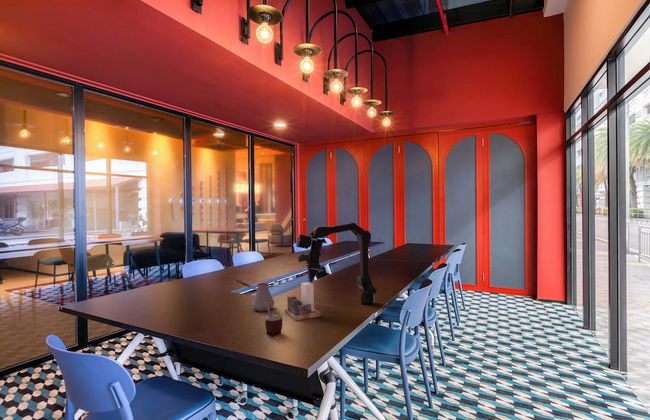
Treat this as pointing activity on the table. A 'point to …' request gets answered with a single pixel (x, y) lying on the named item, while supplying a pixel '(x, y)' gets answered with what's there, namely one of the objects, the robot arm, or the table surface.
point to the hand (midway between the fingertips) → (309, 280)
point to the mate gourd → (273, 323)
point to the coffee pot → (261, 296)
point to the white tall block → (307, 294)
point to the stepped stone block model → (299, 309)
